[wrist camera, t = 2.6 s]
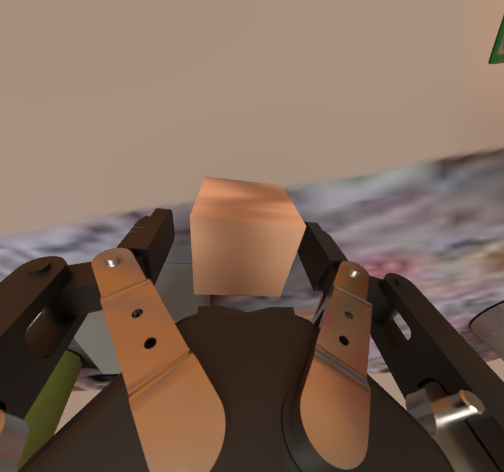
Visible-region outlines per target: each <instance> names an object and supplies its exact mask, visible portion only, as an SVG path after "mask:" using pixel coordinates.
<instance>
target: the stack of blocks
mask: <svg viewBox="0 0 504 472" xmlns="http://www.w3.org/2000/svg"><path fill="white" fill-rule="evenodd" d="M488 63H489V64H498V63H504V15H503V18H502V22H501V24H500V27H499V30H498V33H497V36H496V39H495V42H494V46H493V48H492V52H491V55H490V58H489V62H488Z"/></svg>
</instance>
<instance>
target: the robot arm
mask: <svg viewBox="0 0 504 472" xmlns="http://www.w3.org/2000/svg"><path fill="white" fill-rule="evenodd" d="M304 223H305V225H306V229H305V231H304V234H303V237H302V240H301V242H300V245H299V248H298V250H297V252H298V255H299V257H300V259H301V262H302V264H303V267H304V269H305V271H306V274H307V276H308V278H309V281H310V283H311V285H312V288H313V290H314V291H322V292H323V295H322V297H321V299H320V301H319V304H318V306H317V309H316V311H315V314H314V317H313V319H312V321H311V322H310V321H308V320H306V319H304V318H302V317H299V316H297V315H295V313H294V310H293V307H269V308H265V309H261V310H257V311H253V312H243V311H239V310H235V309H231V308H227V307H224V306H198V311H197V314H194V315H191V316H188V317H185V318H183V319H181V320H179V321H178V322H176V323H174V321H173V320H172V318H171V316H170V314H169V312H168V311H167V309H166V307H165V305H164V304H163V302H162V300H161V298H160V296H159V295H158V293H157V291H156V289H155V287H154V286H153V285H155V284H156V282H157V279H158V277H159V275H160V272H161V270H162V268H163V265H164V263H165V261H166V258H167V256H168V254H169V251H170V249H171V247H172V244H173V242H174V224H173V215H172V211H171V210H170V209H159V208H157V209H155V211H154V212H153V214H152V215H151V216H145V217H144V218H142V219H140V220H138V221H137V223H136V224H135V225H134V227H133V228H132V229H131V230H130V232H129V233H128V234H127V235H126V236H125V238H124V239H123V240H122V241H121V243H120V244H119V245H118V246H117V248H113V249H109V250H106V251H103V252H101V253H100V254H98V255H97V256H96V257H94V259H93V260H92V262H87V263H80V264H74V265H67V263H66V261H65V260H64V259H63V258H61V257H57V256H48V257H42V258H38V259H35V260H32V261H29V262H27V263H25V264H23V265H21V266H20V267H18V268H17V269H16V270H15V271H13V272H12V273H11V274H10V275H9V276H7V277H6V278H5V279H4V280H3V281H1V282H0V472H504V382H503V381H502V380H501V379H500V378H499V377H498V376H497V374H496V373H495V372H494V371H493V370H492V369H491V368H490V367H489V366H488V365H487V364H486V362H485V361H484V360H483V359H482V358H481V357H480V356H479V355H478V354H477V353H476V352H475V351H474V349H473V348H472V347H471V346H470V345H469V344H468V343H467V342H466V341H465V340H464V339H463V337H462V336H461V335H460V334H459V333H458V332H457V331H456V330H455V329H454V328H453V327H452V326H451V324H450V323H449V322H448V321H447V320H446V319H445V318H444V317H443V316H442V315H441V314H440V312H439V311H438V310H437V309H436V308H435V307H434V306H433V305H432V304H431V303H430V302H429V301H428V299H427V298H426V297H425V296H424V295H423V294H422V293H421V292H420V291H419V290H418V289H417V287H416V286H415V285H414V284H413V283H412V282H410V281H409V280H408V279H406V278H404V277H402V276H400V275H398V274H394V273H388V274H387V275H386V276H385V277H384V278H383V279H379V278H375V277H372V276H369V274H368V272H367V271H366V270H365V269H364V268H363V267H362V266H360V265H359V264H357V263H354V262H351V261H348V260H347V258H346V257H345V256H344V254H343V253H342V251H341V250H340V249H339V247H337V244H336V243H334V240H333V239H332V238H331V236H330V235H328V234H327V233H326V232H325V231H323V230H322V229H321V228H320V226H319V225H318V223H313V222H304ZM100 310H103V311H104V315H105V318H106V321H107V325H108V328H109V331H110V335H111V338H112V341H113V345H114V348H115V351H116V355H117V358H118V361H119V364H120V368H121V371H122V372H121V373H120V374H119V375H118V376H116V377H115V378H114V379H113V380H112V381H111V382H110V383H109V384H108V385H107V386H106V387H105V388H104V389H103V390H102V391H101V392H99V394H97V395H96V396H95V397H94V398H93V399H92V400H91V401H90V402H89V403H88V404H87V405H86V406H85V407H84V408H82V409H81V410H80V411H79V412H78V413H77V414H76V415H75V416H74V417H73V418H72V419H71V420H70V421H69V422H68V423H66V424H65V425H64V426H63V427H62V428H61V429H60V430H59V431H58V432H57V433H56V434H55V435H54V436H53V437H52V438H51V439H49V440H48V441H47V442H46V443H45V444H44V445H43V446H42V447H41V448H40V449H39V450H38V451H37V452H36V453H35V454H34V455H33V456H31V457H30V458H29V459H28V460H27V461H26V463H25V464H24V465H23V466H22V467H21V468H20V469H19V470H18V471H17V467H18V461H19V460H20V458H21V456H22V453H23V448H24V446H25V444H26V441H27V438H28V433H29V427H28V424H27V422H26V421H25V420H24V418H25V417H26V415H27V413H28V412H29V410H30V409H31V407H32V405H33V404H34V402H35V400H36V399H37V397H38V395H39V394H40V392H41V390H42V389H43V387H44V386H45V384H46V382H47V381H48V379H49V377H50V376H51V374H52V372H53V371H54V369H55V367H56V366H57V364H58V363H59V361H60V359H61V358H62V356H63V354H64V353H65V351H66V349H67V348H68V346H69V344H70V343H71V341H72V340H73V338H74V336H75V335H76V333H77V331H78V330H79V328H80V326H81V325H82V323H83V321H84V320H85V318H86V317H87V315H88V313H92V312H96V311H100ZM40 312H41V314H40V316H39V317H38V318H37V319H36V321H35V322H34V323H33V324H32V325H31V327H30V328H29V329H28V330H27V328H28V326H29V325H30V324H31V323H32V322H33V320H34V319H35V318H36V317H37V316H38V314H39V313H40ZM398 313H399V314H400V315H401V316H402V318H403V319H404V320H405V322H406V323H407V325H408V326H409V328H410V330H411V337H410V339H409V340H407V339H406V338H405V336H404V335H403V333H402V332H401V330H400V329H399V327H398V326H397V324H396V323H395V321H394V320H393V318H394V317H395V316H396V315H397V314H398ZM26 330H27V331H26ZM471 330H472V331H473V332H474V333H475V334H476V335H477V336H478V337H479V338H480V339H481V340H483V341H484V342H485V343H486V344H487V345H488V346H489V347H490V348H491V349H492V350H493V351H494V352H495V353H496V354H497V355H498V356H499V357H500V358H501V359H502V360H503V361H504V303H502V304H499V305H497V306H495V307H493V308H491V309H489V310H488V311H486V312H484V313H483V314H481V315H480V316H479V317H477V318H476V319H475V320H474V321H473V322H472V324H471ZM25 332H26V333H25ZM370 334H371V336H372V338H373V340H374V342H375V344H376V346H377V348H378V349H379V351H380V353H381V355H382V357H383V359H384V361H385V363H386V364H387V366H388V368H389V370H390V372H391V374H392V376H393V377H394V379H395V381H396V383H397V385H398V387H399V389H400V391H401V393H402V394H403V396H404V398H405V400H406V408H407V411H406V410H405V409H404V408H403V407H402V406H401V405H400V404H399V403H398V402H397V401H396V400H395V399H394V398H392V396H390V395H389V394H388V393H387V392H386V391H385V390H384V389H383V388H382V387H381V386H380V385H379V384H378V383H377V382H376V381H374V380H373V379H372V378H371V377H370V376H369V375H368V374H367V366H368V354H369V341H370Z"/></svg>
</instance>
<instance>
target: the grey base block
mask: <svg viewBox="0 0 504 472" xmlns="http://www.w3.org/2000/svg"><path fill="white" fill-rule="evenodd" d="M153 286H154V287H155V289H156V291H157V293H158V295H159V296H160V298H161V300H162V302H163V304H164V305H165V307H166V309H167V311H168V312H169V314H170V316H171V318H172V320H173V321H174V323H176V322H178V321H179V320H181V319H183V318H185V317H188V316H191V315H194V314H197V311H198V306H210V295H201V294H194V286H193V268H192V264H178V263H164V265H163V268H162V270H161V272H160V275H159V277H158V279H157V282H156V284H155V285H153ZM74 339H75V340H76V341H77V342H78V344H79V345H80V346H81V347H82V349H83V350H84V351H85V352H86V354H87V355H88V356H89V357H90V359H91V360H92V361H93V362H94V363H95V365H96V366H97V367H98V368H99V370H100V371H101V372H102V373H103V374H120V373H121V372H122V371H121V368H120V364H119V361H118V358H117V355H116V351H115V348H114V345H113V341H112V338H111V335H110V331H109V328H108V325H107V321H106V318H105V315H104V311H103V310H100V311H96V312H92V313H88V315H87V317H86V318H85V320H84V321H83V323H82V325H81V326H80V328H79V330H78V331H77V333H76V335H75V336H74Z"/></svg>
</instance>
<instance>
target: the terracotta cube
mask: <svg viewBox="0 0 504 472" xmlns="http://www.w3.org/2000/svg"><path fill="white" fill-rule="evenodd" d="M305 229H306V225H305V223H304V221H303V220H302V218H301V216H300V214H299V213H298V211H297V209H296V207H295V206H294V204H293V202H292V201H291V199H290V197H289V195H288V194H287V192H286V190H285V188H284V187H283V186H282V185H274V184H265V183H257V182H247V181H240V180H231V179H223V178H213V177H205V179H204V182H203V184H202V187H201V190H200V192H199V194H198V197H197V199H196V202H195V204H194V207H193V209H192V212H191V214H190V230H191V249H192V268H193V286H194V294H201V295H236V296H272V297H281V294H282V291H283V288H284V286H285V283H286V280H287V278H288V275H289V272H290V269H291V267H292V264H293V261H294V259H295V256H296V253H297V250H298V248H299V245H300V242H301V240H302V237H303V234H304V231H305Z"/></svg>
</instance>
